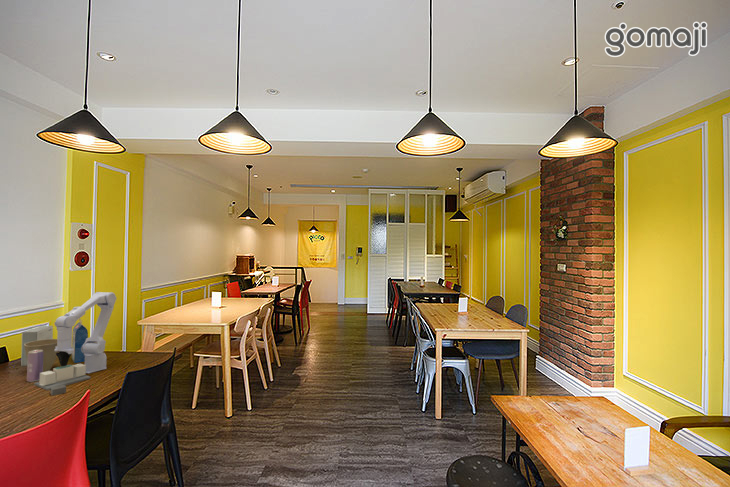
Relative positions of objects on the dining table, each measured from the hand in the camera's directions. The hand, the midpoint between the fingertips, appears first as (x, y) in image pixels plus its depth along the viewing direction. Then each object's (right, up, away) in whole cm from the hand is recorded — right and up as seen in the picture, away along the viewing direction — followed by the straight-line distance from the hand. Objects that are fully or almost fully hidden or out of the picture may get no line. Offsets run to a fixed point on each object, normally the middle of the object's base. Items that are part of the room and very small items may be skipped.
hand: (63, 365), depth 181 cm
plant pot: (-25, -8, +15) cm, 30 cm away
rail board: (0, -8, 0) cm, 8 cm away
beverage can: (-16, -8, +1) cm, 18 cm away
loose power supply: (+10, -8, -14) cm, 19 cm away
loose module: (0, -7, 0) cm, 7 cm away
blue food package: (-20, -9, +35) cm, 41 cm away
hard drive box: (-42, -8, +30) cm, 52 cm away
